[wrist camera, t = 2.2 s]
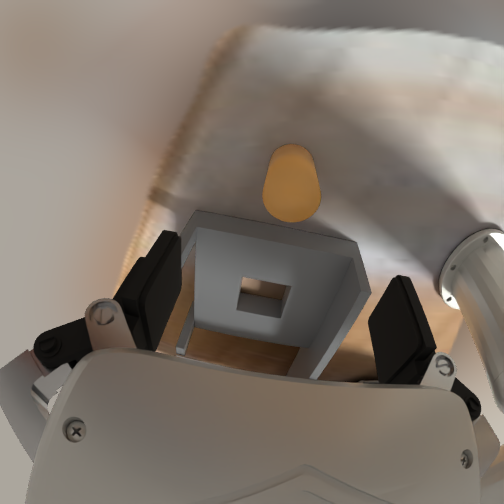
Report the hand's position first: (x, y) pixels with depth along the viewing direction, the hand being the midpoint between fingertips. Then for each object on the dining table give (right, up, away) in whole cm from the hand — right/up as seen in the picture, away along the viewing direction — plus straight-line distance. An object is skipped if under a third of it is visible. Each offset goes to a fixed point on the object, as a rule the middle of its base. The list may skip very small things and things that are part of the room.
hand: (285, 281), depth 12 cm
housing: (-1, -8, +25) cm, 27 cm away
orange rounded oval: (+2, +9, +13) cm, 16 cm away
